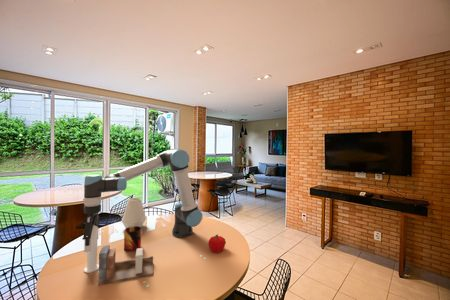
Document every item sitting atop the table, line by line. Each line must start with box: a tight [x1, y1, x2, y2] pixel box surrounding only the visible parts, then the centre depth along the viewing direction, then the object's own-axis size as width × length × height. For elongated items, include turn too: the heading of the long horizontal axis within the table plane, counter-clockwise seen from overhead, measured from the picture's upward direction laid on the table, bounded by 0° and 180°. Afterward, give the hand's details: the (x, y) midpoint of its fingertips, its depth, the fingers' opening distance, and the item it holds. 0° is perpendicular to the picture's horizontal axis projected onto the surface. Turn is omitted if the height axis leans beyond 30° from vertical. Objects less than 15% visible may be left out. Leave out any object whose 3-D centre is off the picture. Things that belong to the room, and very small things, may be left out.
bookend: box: [135, 247, 144, 274], centre depth 103 cm, size 3×8×9 cm, turn 20°
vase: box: [121, 197, 147, 229], centre depth 159 cm, size 18×17×23 cm
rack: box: [97, 244, 154, 287], centre depth 101 cm, size 24×11×14 cm, turn 110°
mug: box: [123, 226, 142, 253], centre depth 127 cm, size 10×14×12 cm
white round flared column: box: [83, 225, 99, 274], centre depth 105 cm, size 7×7×25 cm
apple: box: [207, 234, 226, 254], centre depth 126 cm, size 11×11×10 cm
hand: (91, 245), depth 104 cm, fingers open, 13 cm apart
